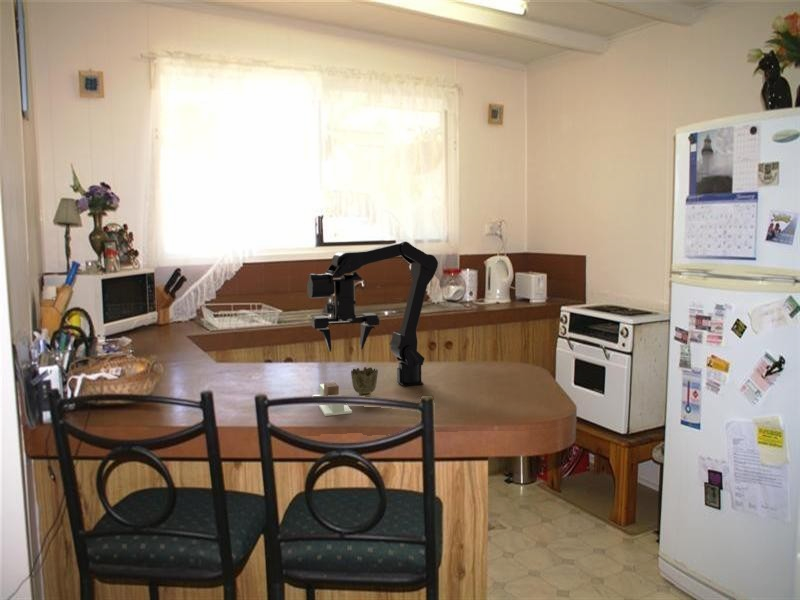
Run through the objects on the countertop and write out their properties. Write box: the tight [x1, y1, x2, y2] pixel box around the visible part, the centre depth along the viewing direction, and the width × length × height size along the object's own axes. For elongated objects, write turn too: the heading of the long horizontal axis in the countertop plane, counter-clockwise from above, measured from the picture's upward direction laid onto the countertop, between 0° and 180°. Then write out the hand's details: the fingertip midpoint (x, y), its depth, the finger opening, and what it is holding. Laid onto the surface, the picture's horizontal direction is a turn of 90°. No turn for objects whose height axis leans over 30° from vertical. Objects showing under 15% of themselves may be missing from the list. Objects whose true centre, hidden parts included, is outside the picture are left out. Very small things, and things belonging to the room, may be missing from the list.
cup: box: [350, 366, 379, 397], centre depth 175 cm, size 8×7×8 cm
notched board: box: [312, 383, 353, 417], centre depth 170 cm, size 7×18×4 cm, turn 18°
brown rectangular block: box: [323, 381, 340, 396], centre depth 170 cm, size 3×4×5 cm, turn 18°
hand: (345, 350), depth 182 cm, fingers open, 9 cm apart
